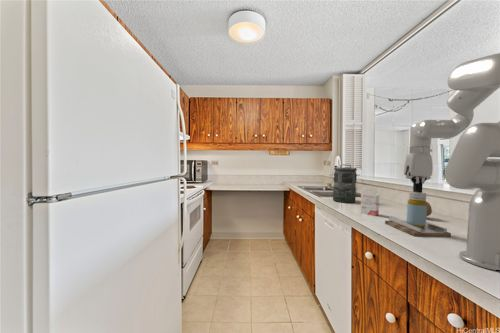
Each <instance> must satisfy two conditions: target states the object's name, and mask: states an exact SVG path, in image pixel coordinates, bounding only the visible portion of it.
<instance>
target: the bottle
mask: <svg viewBox="0 0 500 333" xmlns="http://www.w3.org/2000/svg"><path fill="white" fill-rule="evenodd" d="M426 202H427V193H426V192H422V193H418V192H413V191H409V192H408V200H407V204H406V205H407V206H406V220H407V221H406V223H409V224H411V225H414V226H417V227H419V228H424V227H425V226H426V222H427V217H426V213H427V203H426Z"/></svg>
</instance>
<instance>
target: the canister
mask: <svg viewBox="0 0 500 333" xmlns="http://www.w3.org/2000/svg"><path fill="white" fill-rule="evenodd" d="M342 166H344V164H340V165H339V167H338V166H335V167H334V168H333V170H334V172H333V188H332V189H333V190H332V200H333V201H334V202H337V203H342V204H346V203H347V204H351V203H352V204H354V203H356V197H357V194H356V193H357V188H356V184H357V177H358V174H357V171H358V169H357V168H356V167H352V166H351V164H346V167H342ZM347 166H349V167H347Z"/></svg>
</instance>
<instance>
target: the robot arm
mask: <svg viewBox="0 0 500 333" xmlns="http://www.w3.org/2000/svg"><path fill="white" fill-rule="evenodd" d="M447 85H448V88H449V89H450V90H453V92H452V94H450V95H449V96H448V97H447V99H446V104H447V106H448V108H449V109H450V110H451V111H453V112H454V113H456V115H455V116H454V117H453V118H451V119H424V120H422V121H419V122H418V123H414V124H412V125H411V126H410V130H409V149H408V150H409V153H407V155H406V157H405V162H404V166H403V168H404V169H403V174H404V176H405V179H407V180H410V181H411V183H412V185H413V186H412V192H418V193H423V184H425V182H426V181H429V180H431V179H432V176H433V170H434V169H433V168H434V167H433V157H432V154H431V153H432V152H433V150H432V149H431V145H432V144H431V143H432V139H445V140H446V139H452V138H455V137H457V136H458V135H460V134H461V135H460V136H459V137H458V138H459V139H458V141H457V142H456V145H455V147H454V149H453V151H452V153H451V156H450V158H449V160H448V162H447V164H446V167H445V172H444V179H445V181H446V183H447V185H449V186H451V187H453V188H455V189H458V190H468V191H469V190H470V191H471V190H472V191H473V190H476V191H475V192H474V193H473V195H471V197H470V201H469V205H468V207H469V208H468V220H467V234H466V236H467V237H466V248H465V250H462V251H460V252H459V254H458V256H459V258H460V259H462V260H464V261H465V262H467V263H469V264H472V265H474V266H477V267H480V268H485V269H488V270H492V271H496V270H500V120H499V121H498V122H480V123H475V124H473V125H471V124H472V122H473V119H474V115H475V114H474V113H475V112H474V110H475V109H476V108H477V107H478V106H480V105H481V104H482V103H483V102H484V101H486V100H487V99H488V98H489V97H490V96H491V95H492V94H494V93H495V92H497V90H499V89H500V52H498V53H494V54H490V55H486V56H482V57H478V58H475V59H471V60H467V61H465V62H462V63H460V64H459V65H457V66H456V67H455V68H454V69H453V70H452V71H451V73H450V74H449V76H448V79H447Z"/></svg>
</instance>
